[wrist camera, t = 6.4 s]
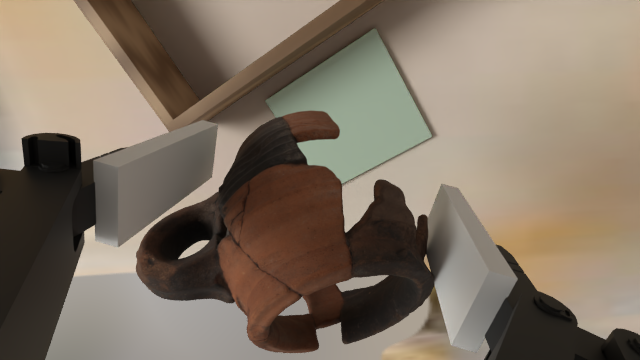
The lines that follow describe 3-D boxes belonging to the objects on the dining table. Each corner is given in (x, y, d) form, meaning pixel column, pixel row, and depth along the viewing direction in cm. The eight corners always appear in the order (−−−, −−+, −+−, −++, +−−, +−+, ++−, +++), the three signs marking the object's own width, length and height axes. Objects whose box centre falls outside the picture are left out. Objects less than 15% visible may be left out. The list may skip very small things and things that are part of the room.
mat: (266, 100, 33) (265, 100, 32) (375, 28, 29) (375, 27, 29) (324, 191, 35) (324, 193, 35) (431, 135, 32) (432, 136, 31)
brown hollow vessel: (386, 78, 15) (490, 217, 10) (374, 207, 22) (431, 332, 17) (113, 129, 14) (49, 325, 8) (190, 250, 21) (184, 402, 15)
